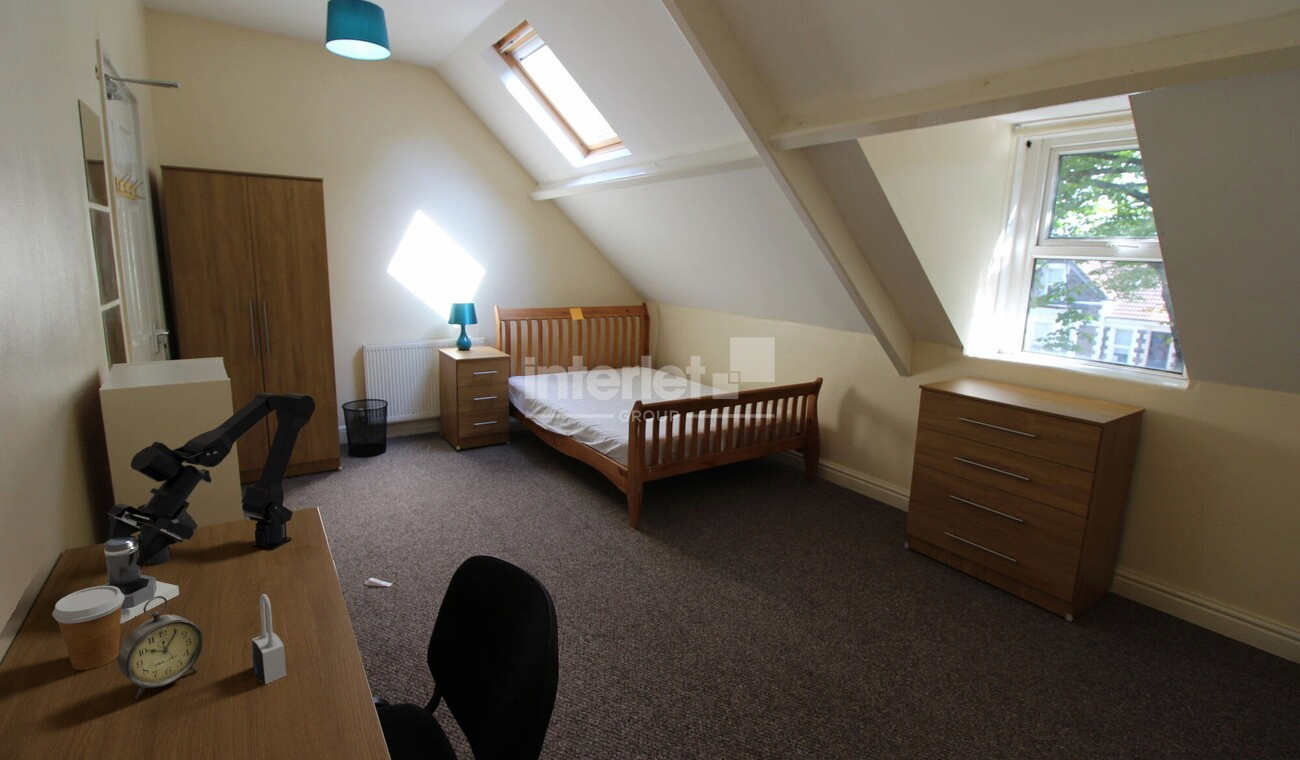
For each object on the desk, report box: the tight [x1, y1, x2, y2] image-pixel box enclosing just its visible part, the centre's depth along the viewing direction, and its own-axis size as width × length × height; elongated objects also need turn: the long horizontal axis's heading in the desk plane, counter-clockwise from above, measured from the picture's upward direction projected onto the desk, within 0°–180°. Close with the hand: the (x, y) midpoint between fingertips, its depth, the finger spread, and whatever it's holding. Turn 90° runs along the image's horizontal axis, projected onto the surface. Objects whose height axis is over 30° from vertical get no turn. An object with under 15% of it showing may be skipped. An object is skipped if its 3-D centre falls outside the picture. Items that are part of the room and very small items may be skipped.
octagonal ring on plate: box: [100, 574, 180, 625], centre depth 128 cm, size 14×10×4 cm
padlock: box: [251, 593, 287, 685], centre depth 110 cm, size 7×4×15 cm, turn 49°
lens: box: [103, 535, 142, 595], centre depth 127 cm, size 5×5×13 cm
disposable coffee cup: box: [51, 585, 124, 671], centre depth 111 cm, size 10×10×12 cm
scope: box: [136, 503, 170, 566], centre depth 147 cm, size 8×14×10 cm
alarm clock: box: [117, 596, 204, 700], centre depth 106 cm, size 11×5×16 cm, turn 148°
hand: (122, 560), depth 127 cm, fingers open, 9 cm apart
